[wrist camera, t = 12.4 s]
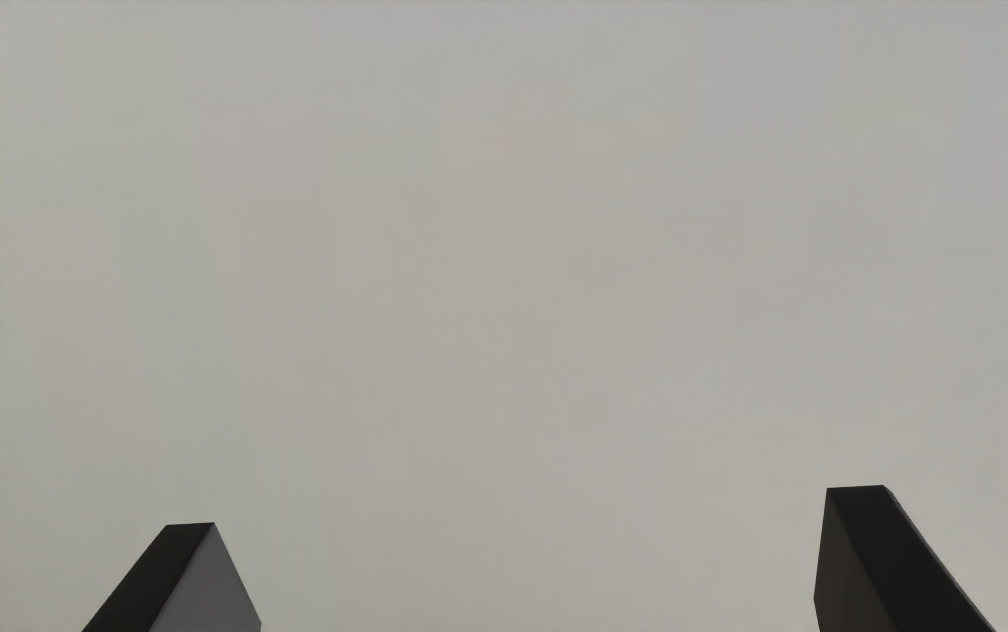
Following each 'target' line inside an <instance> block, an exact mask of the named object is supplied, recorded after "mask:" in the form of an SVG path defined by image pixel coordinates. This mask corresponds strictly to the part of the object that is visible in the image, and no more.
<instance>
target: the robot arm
mask: <svg viewBox="0 0 1008 632" xmlns="http://www.w3.org/2000/svg"><path fill="white" fill-rule="evenodd" d="M814 603H815V609H816V614H817V619H818V624H819V629H820V632H996V631H995V629H994V628H993V627H992V626H991V625H990V623H989V622H988V621H987V620H986V619H985V617H984V616H983V615H982V614H981V612H980V611H979V610H978V609H977V607H976V606H975V605H974V603H973V602H972V601H971V600H970V598H969V597H968V596H967V595H966V593H965V592H964V591H963V589H962V588H961V587H960V586H959V584H958V583H957V582H956V580H955V579H954V578H953V576H952V575H951V574H950V572H949V571H948V570H947V569H946V567H945V566H944V565H943V563H942V562H941V561H940V559H939V558H938V557H937V555H936V554H935V553H934V551H933V550H932V548H931V547H930V546H929V544H928V543H927V542H926V540H925V539H924V538H923V536H922V535H921V533H920V532H919V531H918V529H917V528H916V526H915V525H914V524H913V522H912V521H911V519H910V518H909V516H908V515H907V514H906V512H905V511H904V509H903V508H902V506H901V505H900V503H899V502H898V500H897V499H896V497H895V496H894V495H893V493H892V492H891V491H890V490H889V489H887V488H886V487H885V486H884V485H874V486H856V487H838V488H827V492H826V501H825V509H824V517H823V525H822V534H821V542H820V550H819V559H818V567H817V575H816V583H815V592H814ZM260 630H261V621H260V619H259V617H258V615H257V613H256V610H255V608H254V606H253V604H252V602H251V600H250V598H249V596H248V593H247V591H246V589H245V587H244V585H243V583H242V581H241V579H240V576H239V574H238V572H237V570H236V568H235V566H234V564H233V561H232V559H231V557H230V555H229V553H228V551H227V549H226V547H225V544H224V542H223V540H222V538H221V536H220V534H219V532H218V530H217V527H216V525H215V523H214V522H212V523H194V524H176V525H166V526H165V527H164V528H163V529H162V531H161V532H160V533H159V534H158V535H157V537H156V538H155V539H154V540H153V542H152V543H151V544H150V545H149V547H148V548H147V549H146V550H145V552H144V553H143V554H142V555H141V557H140V558H139V559H138V560H137V562H136V563H135V564H134V566H133V567H132V568H131V569H130V571H129V572H128V573H127V574H126V576H125V577H124V578H123V580H122V581H121V582H120V583H119V585H118V586H117V587H116V589H115V590H114V591H113V592H112V594H111V595H110V596H109V597H108V599H107V600H106V601H105V603H104V604H103V605H102V606H101V608H100V609H99V610H98V611H97V613H96V614H95V615H94V616H93V618H92V619H91V620H90V622H89V623H88V624H87V625H86V627H85V628H84V629H83V630H82V632H260Z"/></svg>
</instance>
